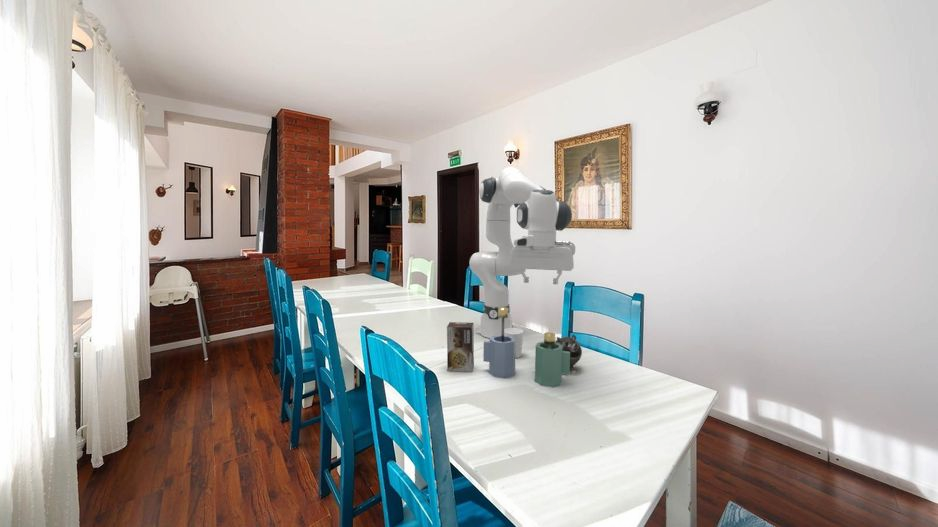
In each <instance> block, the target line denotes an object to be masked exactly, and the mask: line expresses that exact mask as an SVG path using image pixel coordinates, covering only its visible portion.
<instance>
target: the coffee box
mask: <svg viewBox="0 0 938 527" xmlns="http://www.w3.org/2000/svg"><path fill="white" fill-rule="evenodd" d="M474 326H475V325H474V322H466V321H465V322H462V321H460V322H459V321H457V322H456V321H454V322H453V321H449V322H448V324H447V326H446V347H447V348H446V349H447V351H446V352H447V353H446V354H447V356H446V357H447V358H446V360H447V361H446V362H447V368H446V369H447V371H448V372H469V373H470V372H471V373H472V372H474V368H475V364H474V362H475V360H474V359H475V357H474V354H475V352H474V351H475V350H474V346H475V345H474V344H475V341H474V340H475V339H474Z"/></svg>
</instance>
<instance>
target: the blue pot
mask: <svg viewBox="0 0 938 527" xmlns="http://www.w3.org/2000/svg"><path fill="white" fill-rule="evenodd" d="M515 353H516V339H515V338H513V337H511V336H505V335H504V342H501V335H498V336H492V337H491V338H489V340H484V341H483V362H486V363H489V364H488V366H489V368H488V373H489V374H490V376H491V375H492V376H493V377H496V378H502V379H505V378H506V379H507V378H510V377H514V375H515V373H516V358H515Z"/></svg>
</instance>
